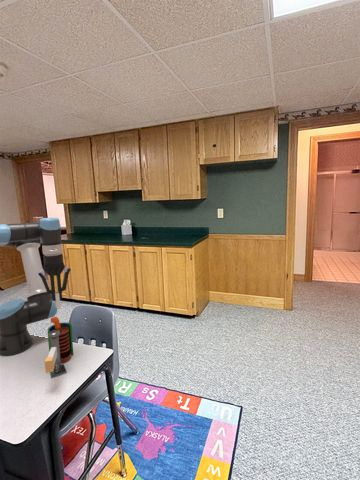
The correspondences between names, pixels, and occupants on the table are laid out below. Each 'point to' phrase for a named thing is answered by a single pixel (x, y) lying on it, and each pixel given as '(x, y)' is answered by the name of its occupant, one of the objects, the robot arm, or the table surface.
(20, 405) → the table surface
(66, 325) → the motor
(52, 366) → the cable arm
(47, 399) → the table surface
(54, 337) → the post
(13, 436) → the table surface
